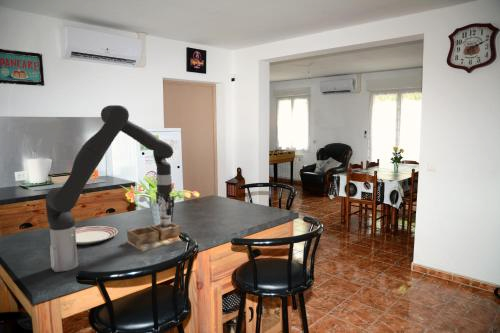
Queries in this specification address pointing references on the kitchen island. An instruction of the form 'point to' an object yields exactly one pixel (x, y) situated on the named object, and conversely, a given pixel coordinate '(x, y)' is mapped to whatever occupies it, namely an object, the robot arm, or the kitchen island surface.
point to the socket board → (153, 236)
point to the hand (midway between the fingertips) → (165, 213)
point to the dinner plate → (94, 234)
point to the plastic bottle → (164, 217)
